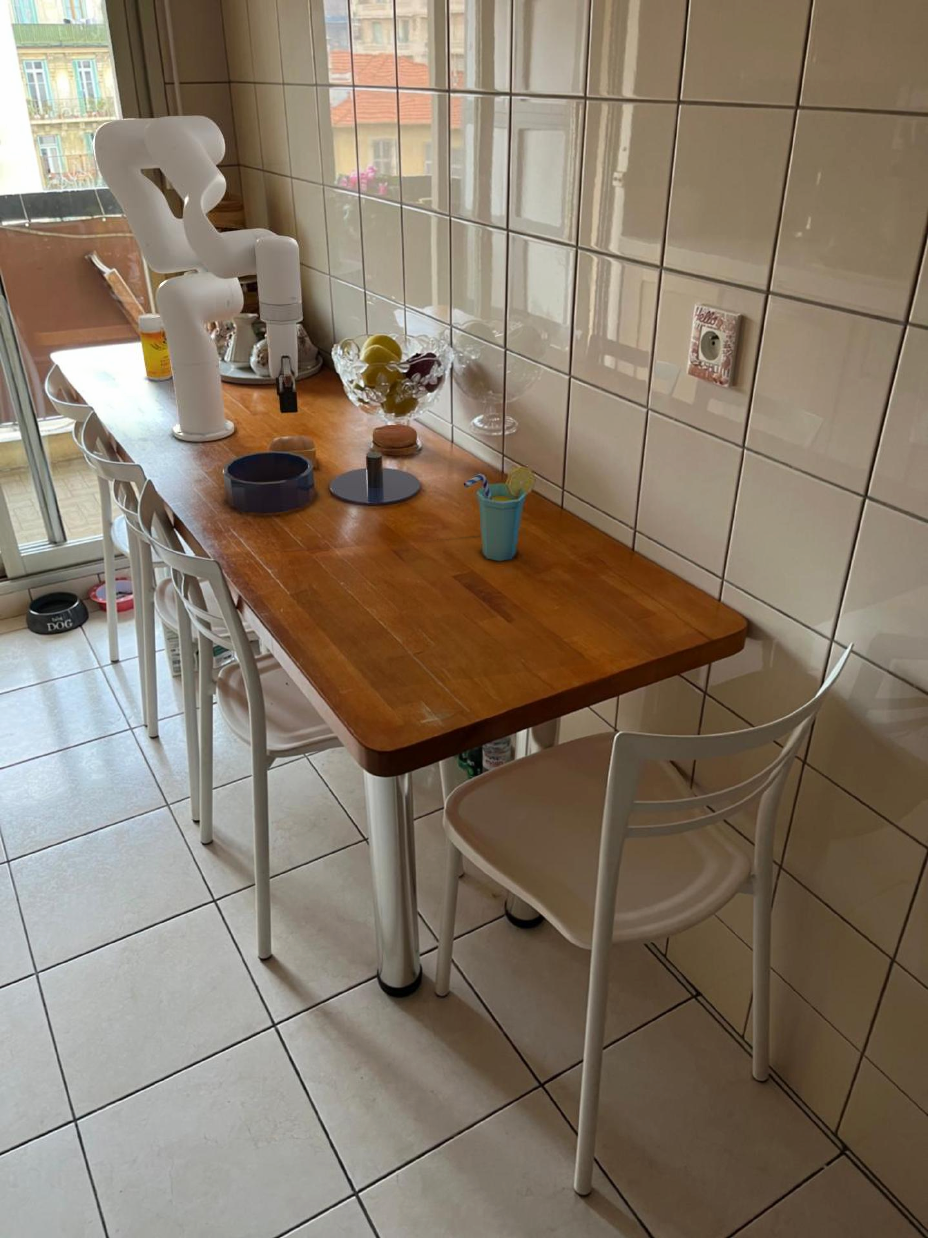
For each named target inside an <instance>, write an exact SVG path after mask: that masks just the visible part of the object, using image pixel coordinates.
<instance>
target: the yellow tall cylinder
mask: <svg viewBox="0 0 928 1238" xmlns="http://www.w3.org/2000/svg"><path fill="white" fill-rule="evenodd" d="M137 324H138V331H139V337H140V344H141V349H142V355H143V361H144V368H145V374H146V377H148V378H149V379H150V380H151V381H164V380H169V379H170V378H171V377H172V368H171V361H170V356H169V349H168V343H167V338H166V334H165V330H164V326H163V323H162V320H161V317H160V314H159V313H157V312H156V313H155V312H151V313H149V312H148V313H143V314H139V315H138V319H137Z"/></svg>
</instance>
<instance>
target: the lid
mask: <svg viewBox="0 0 928 1238" xmlns="http://www.w3.org/2000/svg"><path fill="white" fill-rule="evenodd" d="M383 461H384V460H383V454H382V453H380V452H376V451H369V452H367V453H365V468H364V467H363V468H357V469H352V470H349V471H346V472H342V473H341V474H338V475H337V476H335V477H334V478H333V479H332V480H331V481H330V483H329V491H330V493H331V495H332V496H334V497H335V498H336V499H338V500H340V501H343V502H345V503H349V504H354V505H360V506H387V505H394V504H398V503H402V502H405V501H407V500H410V499H412V498H413V497H415V496H416V495H417V494H418V493H419V492H420V490H421V483H420V480H419V479H418V478H417V477H416V476H415V475H413V474H411V473H410V472H407V471H406V470H405V471H404V470H400V469H396V468H390V467H389V468H388V467H383V466H384V463H383Z"/></svg>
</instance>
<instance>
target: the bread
mask: <svg viewBox="0 0 928 1238" xmlns="http://www.w3.org/2000/svg"><path fill="white" fill-rule="evenodd" d="M268 444H269V445H268V446H269V447H268V450H269V451H268V452H270V451H280V452H291V453H295V454H299V455H302V456H305V457H306V458H308V459H309V460H311V461H312V465H313V469H314V468H317V467H318V462H317V451H316V444H315V442H314V440H313V439H311V437H309V436H307V435H290V436H289V435H288V436H278V437H275V438H274V439H273V440H272V441H271V442H270V443H268Z"/></svg>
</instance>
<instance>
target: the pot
mask: <svg viewBox="0 0 928 1238" xmlns="http://www.w3.org/2000/svg"><path fill="white" fill-rule="evenodd" d="M222 475H223V483H224V493H225V498H226V503H227V504H228V505H229V506H231V507H232V508H233V509H236V510H238V511H239V512H244V513H252V514H277V513H279V514H280V513H284V512H288V511H293V510H297V509H299V508H302V507H304V506H305V505H307V504H309V503H311V502H312V501H313V499H314V498H315V496H316V488H315V476H314V475H315V474H314V468H313V465H312V461H311V460H309V459H308V458H306V457H305V456H302V455H299V454H295V453H291V452H280V451H257V452H251V453H247V454H242V455H240V456H238V457H234V458H232V459H230V460H229V461H228V462H227V463H226V464H225V465H223V467H222Z"/></svg>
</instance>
